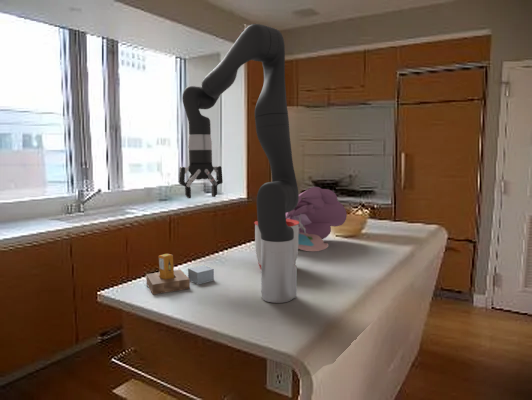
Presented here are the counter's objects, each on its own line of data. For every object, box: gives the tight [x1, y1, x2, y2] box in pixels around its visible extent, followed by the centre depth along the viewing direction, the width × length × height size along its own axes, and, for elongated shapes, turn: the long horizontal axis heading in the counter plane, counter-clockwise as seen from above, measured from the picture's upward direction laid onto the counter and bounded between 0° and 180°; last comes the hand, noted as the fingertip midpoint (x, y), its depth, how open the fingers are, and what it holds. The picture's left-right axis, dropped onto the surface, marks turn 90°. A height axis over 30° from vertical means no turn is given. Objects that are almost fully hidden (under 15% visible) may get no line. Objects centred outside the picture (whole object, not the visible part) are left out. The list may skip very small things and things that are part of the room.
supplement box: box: [158, 253, 175, 280], centre depth 125 cm, size 3×3×10 cm
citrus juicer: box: [253, 219, 299, 270], centre depth 142 cm, size 16×17×20 cm
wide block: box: [187, 264, 215, 285], centre depth 131 cm, size 6×6×4 cm
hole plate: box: [145, 269, 191, 295], centre depth 126 cm, size 11×11×3 cm
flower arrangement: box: [286, 186, 348, 252], centre depth 175 cm, size 35×24×28 cm
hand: (201, 197), depth 136 cm, fingers open, 8 cm apart
